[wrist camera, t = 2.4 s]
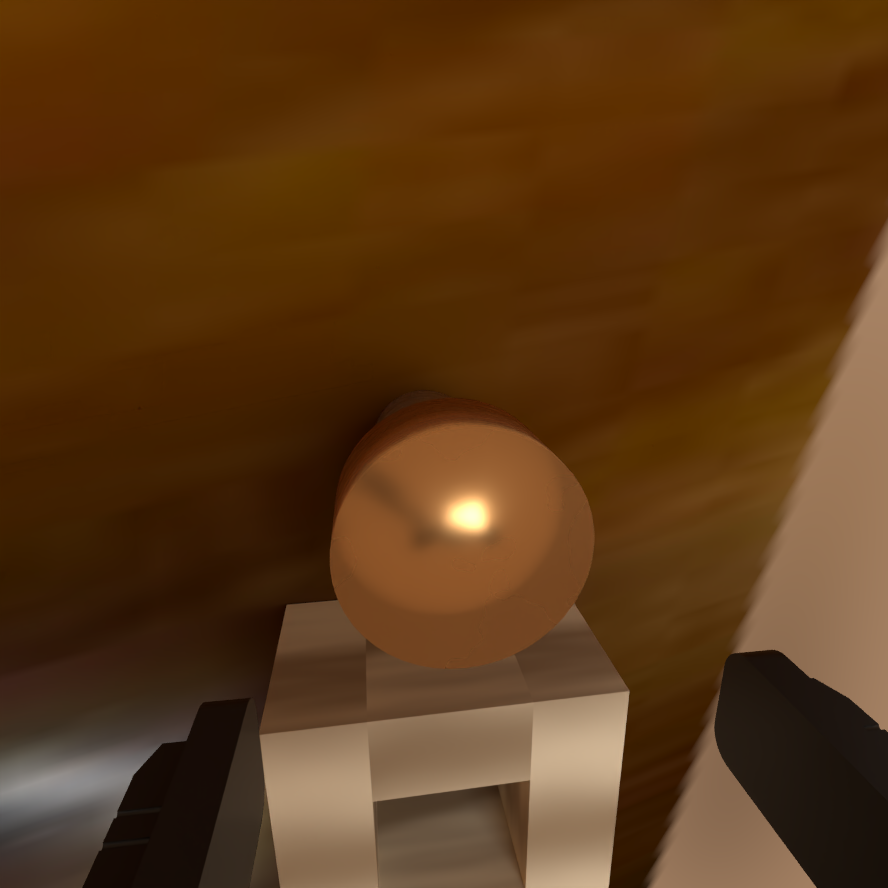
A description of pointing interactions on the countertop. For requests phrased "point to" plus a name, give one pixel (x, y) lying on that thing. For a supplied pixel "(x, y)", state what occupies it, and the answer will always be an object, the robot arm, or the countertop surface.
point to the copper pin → (456, 534)
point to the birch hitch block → (440, 761)
